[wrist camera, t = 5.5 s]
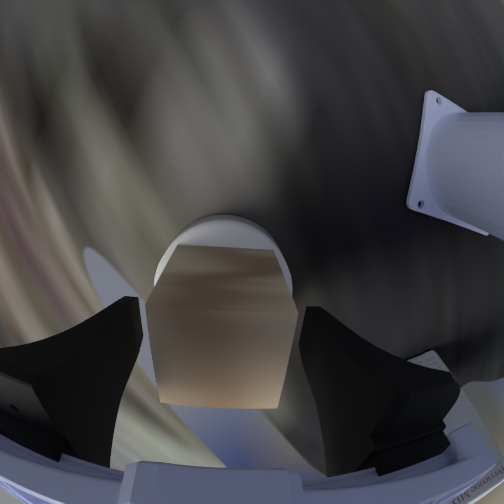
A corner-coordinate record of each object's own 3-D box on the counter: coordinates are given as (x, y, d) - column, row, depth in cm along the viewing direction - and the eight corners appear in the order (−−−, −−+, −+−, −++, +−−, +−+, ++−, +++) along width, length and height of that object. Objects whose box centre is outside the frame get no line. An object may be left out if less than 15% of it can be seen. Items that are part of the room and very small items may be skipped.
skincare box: (433, 346, 20) (520, 466, 6) (420, 389, 22) (483, 496, 8) (349, 376, 20) (416, 536, 6) (346, 416, 22) (392, 547, 8)
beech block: (273, 250, 13) (298, 313, 8) (263, 329, 15) (277, 408, 10) (177, 244, 13) (145, 304, 8) (179, 324, 14) (160, 402, 9)
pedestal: (296, 225, 16) (307, 239, 13) (270, 330, 18) (275, 354, 16) (169, 205, 15) (158, 216, 12) (162, 315, 17) (153, 338, 15)
